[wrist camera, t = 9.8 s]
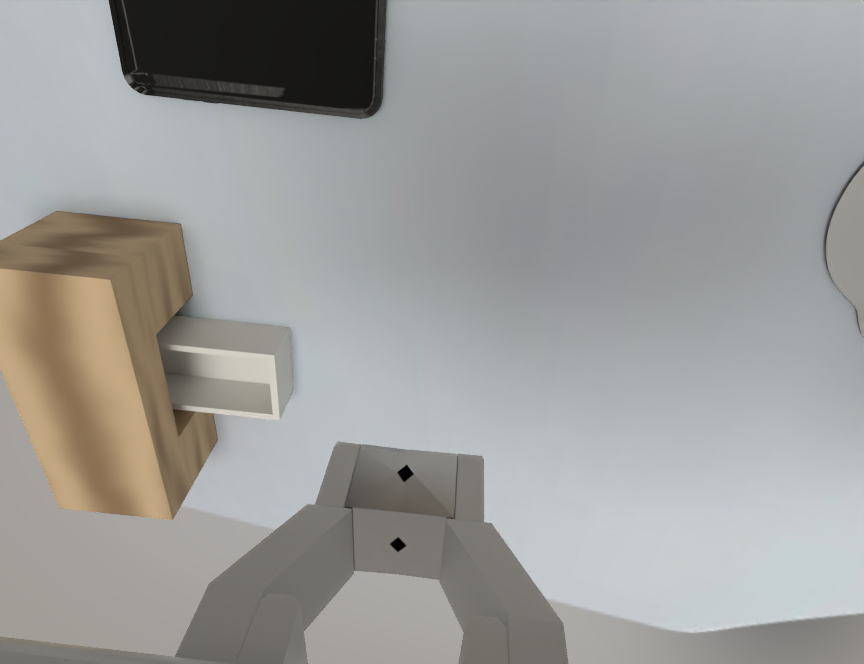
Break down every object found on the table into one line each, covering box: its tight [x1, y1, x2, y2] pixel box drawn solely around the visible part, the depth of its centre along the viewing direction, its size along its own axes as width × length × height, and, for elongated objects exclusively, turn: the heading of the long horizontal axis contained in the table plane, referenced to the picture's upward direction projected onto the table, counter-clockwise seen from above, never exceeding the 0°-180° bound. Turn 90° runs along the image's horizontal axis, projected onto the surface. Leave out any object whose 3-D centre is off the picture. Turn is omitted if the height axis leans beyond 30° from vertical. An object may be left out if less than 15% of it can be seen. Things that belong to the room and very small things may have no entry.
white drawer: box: [156, 315, 293, 420], centre depth 41 cm, size 14×6×4 cm, turn 85°
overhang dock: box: [0, 211, 217, 520], centre depth 38 cm, size 8×20×8 cm, turn 175°
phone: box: [109, 0, 387, 119], centre depth 30 cm, size 8×1×15 cm
